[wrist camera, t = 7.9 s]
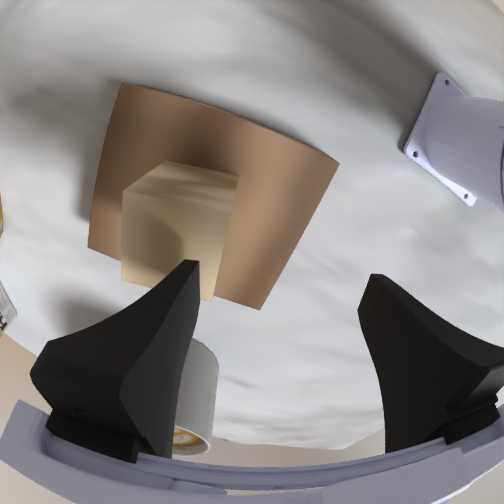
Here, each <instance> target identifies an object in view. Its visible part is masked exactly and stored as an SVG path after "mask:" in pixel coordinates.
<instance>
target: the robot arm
mask: <svg viewBox="0 0 504 504" xmlns="http://www.w3.org/2000/svg"><path fill="white" fill-rule="evenodd" d="M445 80H446V81H447V85H446V84H445ZM414 152H416V155H415V157H414V156H413V153H414ZM404 154H405V155H406V156H407V157H409V158H410V159H411V160H413V161H414V162H416V163H417V164H418V165H420V166H421V167H422V168H424V169H425V170H426V171H428V172H429V173H430V174H431V175H433V176H434V177H435V178H436V179H438V180H439V181H440V182H441V183H443V184H444V185H445V186H446V187H447V188H449V189H450V190H451V191H452V192H453V193H455V194H456V195H457V196H458V197H459V198H460V199H461V200H462V201H464V202H465V203H466V204H467V205H468V206H472V205H473V204H474V203H475V201H476V199H478V200H480V201H481V202H483V203H485V204H486V205H488V206H489V207H491V208H492V209H494V210H495V211H497V212H498V213H500V214H501V215H503V216H504V101H498V100H492V99H485V98H478V97H469V96H467V95H466V94H465V93H464V92H463V91H462V90H461V89H460V88H459V87H458V86H457V85H456V84H455V83H454V82H452V81H451V80H450V79H449V78H448V77H447V76H446V75H445V74H444V73H437V75H436V77H435V80H434V82H433V85H432V87H431V89H430V92H429V94H428V97H427V99H426V101H425V104H424V106H423V108H422V110H421V113H420V115H419V117H418V119H417V121H416V124H415V126H414V128H413V130H412V132H411V134H410V136H409V139H408V141H407V143H406V145H405V147H404ZM465 194H466V195H465ZM464 195H465V197H464ZM199 305H200V261H199V260H188V259H184V260H183V261H182V262H181V263H180V264H179V265H178V266H177V267H175V268H174V269H173V270H172V271H171V272H170V273H169V274H168V275H167V276H166V277H165V278H164V279H162V280H161V281H160V282H159V283H158V284H157V285H156V286H155V287H153V288H152V289H151V290H150V291H148V292H147V293H146V294H145V295H143V296H142V297H141V298H140V299H138V300H137V301H135V302H134V303H132V304H131V305H129V306H128V307H126V308H125V309H123V310H121V311H120V312H118V313H116V314H114V315H112V316H111V317H109V318H107V319H105V320H103V321H101V322H99V323H97V324H95V325H93V326H90V327H88V328H86V329H83V330H81V331H78V332H76V333H73V334H70V335H67V336H63V337H60V338H57V339H54V340H50V341H48V342H47V343H46V345H45V347H44V348H43V350H42V352H41V353H40V355H39V357H38V358H37V360H36V362H35V363H34V365H33V367H32V369H31V371H30V377H31V380H32V383H33V384H34V386H35V387H36V389H37V390H38V391H39V393H40V394H41V395H42V396H43V398H44V399H45V400H46V401H47V403H48V404H49V405H50V406H51V407H52V408H53V410H52V412H51V414H50V416H49V415H48V414H46V413H45V412H44V411H42V410H40V409H38V408H36V407H34V406H32V405H30V404H28V403H26V402H24V401H22V400H18V401H17V403H16V405H15V407H14V409H13V411H12V413H11V416H10V418H9V420H8V422H7V424H6V427H5V429H4V432H3V434H2V436H1V439H0V459H1V460H2V461H4V462H5V463H7V464H8V465H9V466H11V467H12V468H14V469H15V470H17V471H18V472H20V473H22V474H23V475H25V476H26V477H28V478H30V479H31V480H33V481H34V482H36V483H38V484H39V485H41V486H43V487H45V488H47V489H49V490H50V491H52V492H54V493H56V494H58V495H60V496H62V497H64V498H66V499H68V500H70V501H72V502H75V503H76V504H449V498H451V497H453V496H455V495H456V494H458V493H460V492H462V491H464V490H465V489H467V488H468V487H469V486H470V484H471V483H472V482H474V481H476V480H477V479H479V478H480V477H482V476H483V475H485V474H487V473H488V472H489V471H491V470H492V469H494V468H495V467H496V466H498V465H499V464H501V463H502V462H504V404H502V405H501V406H499V407H498V408H496V406H495V403H496V402H497V401H498V398H497V395H496V393H497V392H498V391H499V390H500V389H501V388H502V387H503V386H504V348H503V347H499V346H497V345H493V344H491V343H488V342H486V341H483V340H481V339H479V338H477V337H474V336H472V335H470V334H468V333H466V332H465V331H463V330H461V329H459V328H457V327H455V326H454V325H452V324H451V323H449V322H447V321H446V320H444V319H443V318H441V317H440V316H438V315H437V314H435V313H434V312H433V311H431V310H430V309H429V308H427V307H426V306H424V305H423V304H422V303H421V302H419V301H418V300H417V299H415V298H414V297H413V296H412V295H410V294H409V293H408V292H407V291H405V290H404V289H403V288H402V287H400V286H399V285H398V284H396V283H395V282H394V281H392V280H391V279H390V278H388V277H386V276H385V275H383V274H371V275H370V278H369V281H368V283H367V286H366V289H365V292H364V294H363V297H362V299H361V302H360V305H359V307H358V310H357V311H358V316H359V321H360V325H361V329H362V332H363V335H364V338H365V341H366V344H367V346H368V349H369V352H370V355H371V357H372V360H373V363H374V366H375V369H376V372H377V376H378V380H379V385H380V390H381V395H382V402H383V410H384V421H385V454H382V455H378V456H374V457H368V458H363V459H358V460H351V461H345V462H338V463H330V464H321V465H311V466H297V467H235V466H221V465H211V464H202V463H194V462H187V461H180V460H174V459H172V448H173V435H174V426H175V416H176V408H177V401H178V394H179V387H180V381H181V375H182V371H183V366H184V363H185V359H186V356H187V352H188V349H189V346H190V342H191V339H192V336H193V332H194V329H195V326H196V322H197V317H198V311H199ZM323 486H325V487H323ZM315 487H323V488H319V489H311V490H303V491H296V492H286V493H274V494H258V495H227V491H226V490H224V489H231V490H291V489H305V488H315Z"/></svg>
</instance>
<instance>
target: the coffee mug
mask: <svg viewBox="0 0 504 504" xmlns="http://www.w3.org/2000/svg"><path fill="white" fill-rule="evenodd" d="M218 371H219V364H218V361H217V358H216V357H215V355H214V354H213V352H212V351H211V350H210V349H209V348H207V347H206V346H205V345H203V344H202V343H200V342H199V341H197V340H195V339H193V338H192V339H191V342H190V346H189V349H188V352H187V356H186V359H185V363H184V366H183V371H182V375H181V381H180V387H179V394H178V401H177V408H176V416H175V426H174V435H173V448H172V455H176V456H197V455H202V454H204V453H206V452H208V451H209V449H210V446H211V438H212V428H213V418H214V408H215V399H216V389H217V380H218Z"/></svg>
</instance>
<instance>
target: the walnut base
mask: <svg viewBox="0 0 504 504" xmlns="http://www.w3.org/2000/svg"><path fill="white" fill-rule="evenodd" d="M165 161H168V162H174V163H180V164H185V165H191V166H196V167H201V168H206V169H211V170H216V171H221V172H225V173H230V174H234V175H239V178H238V183H237V187H236V192H235V197H234V202H233V206H232V211H231V216H230V220H229V225H228V229H227V233H226V238H225V242H224V247H223V251H222V256H221V261H220V265H219V270H218V275H217V279H216V284H215V289H214V294H213V295H214V296H217V297H220V298H223V299H226V300H229V301H232V302H235V303H238V304H241V305H244V306H248V307H251V308H254V309H257V310H260V309H261V307H262V306H263V304H264V302H265V300H266V299H267V297H268V295H269V293H270V292H271V290H272V288H273V286H274V285H275V283H276V281H277V279H278V278H279V276H280V274H281V272H282V271H283V269H284V267H285V265H286V263H287V262H288V260H289V258H290V256H291V254H292V253H293V251H294V249H295V247H296V245H297V244H298V242H299V240H300V238H301V236H302V235H303V233H304V231H305V229H306V227H307V225H308V223H309V222H310V220H311V218H312V216H313V214H314V212H315V210H316V208H317V207H318V205H319V203H320V201H321V199H322V197H323V195H324V193H325V191H326V190H327V188H328V186H329V184H330V182H331V180H332V178H333V176H334V174H335V172H336V170H337V168H338V166H339V164H340V163H339V162H337V161H336V160H334V159H333V158H331V157H330V156H329V155H327V154H325V153H323V152H321V151H319V150H317V149H315V148H313V147H311V146H309V145H306V144H304V143H302V142H300V141H298V140H296V139H293V138H291V137H289V136H287V135H285V134H282V133H280V132H278V131H275V130H273V129H271V128H268V127H266V126H263V125H261V124H259V123H256V122H254V121H251V120H248V119H246V118H243V117H241V116H238V115H235V114H233V113H230V112H227V111H224V110H221V109H219V108H216V107H213V106H210V105H207V104H204V103H201V102H198V101H195V100H191V99H188V98H185V97H181V96H178V95H175V94H171V93H167V92H164V91H160V90H156V89H152V88H148V87H144V86H140V85H132V84H124V83H122V84H121V87H120V90H119V93H118V96H117V99H116V102H115V105H114V108H113V112H112V115H111V119H110V122H109V126H108V130H107V133H106V137H105V141H104V145H103V150H102V154H101V159H100V163H99V168H98V173H97V179H96V184H95V190H94V196H93V203H92V210H91V218H90V226H89V236H88V248H90V249H93V250H95V251H97V252H100V253H102V254H105V255H107V256H109V257H112V258H114V259H117V260H119V261H121V221H122V199H123V190H125V189H126V188H127V187H129V186H130V185H132V184H133V183H134V182H136V181H137V180H138V179H140V178H141V177H143V176H144V175H146V174H147V173H148V172H150V171H151V170H153V169H154V168H156V167H157V166H159V165H160V164H162V163H163V162H165Z"/></svg>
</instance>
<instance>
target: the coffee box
mask: <svg viewBox="0 0 504 504" xmlns="http://www.w3.org/2000/svg"><path fill="white" fill-rule="evenodd" d="M16 316H17V312H16V311H15V309H14V307H13V306H12V304H11V302H10V300H9V298H8V296H7V294H6V292H5V290H4V288H3V286H2V284H1V282H0V337H1V335H2V334H3V333H4V331H5V330H6V329H7V327H8V326H9V325H10V323H11V322H12V321H13V320H14V318H15V317H16Z"/></svg>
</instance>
